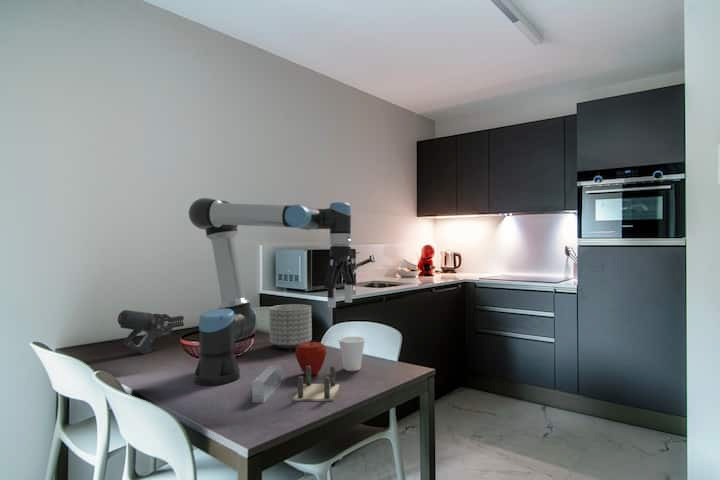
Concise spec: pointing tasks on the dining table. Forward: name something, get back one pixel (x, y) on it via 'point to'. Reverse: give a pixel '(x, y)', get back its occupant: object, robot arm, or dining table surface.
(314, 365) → the apple
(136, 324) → the gun
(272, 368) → the grey stepped post
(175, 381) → the dining table surface
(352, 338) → the cup
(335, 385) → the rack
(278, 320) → the planter
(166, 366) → the dining table surface
